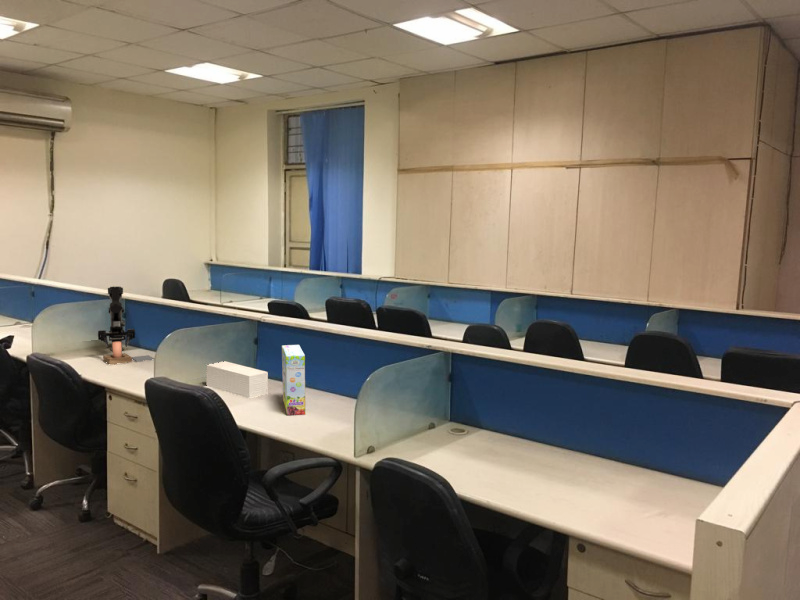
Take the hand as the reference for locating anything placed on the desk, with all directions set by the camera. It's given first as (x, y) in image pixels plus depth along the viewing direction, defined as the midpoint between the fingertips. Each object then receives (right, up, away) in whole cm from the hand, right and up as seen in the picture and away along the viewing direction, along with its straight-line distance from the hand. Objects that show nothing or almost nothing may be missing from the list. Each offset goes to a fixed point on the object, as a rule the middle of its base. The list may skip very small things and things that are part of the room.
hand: (117, 346), depth 347 cm
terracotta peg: (0, -8, +1) cm, 8 cm away
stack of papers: (+78, -17, -48) cm, 94 cm away
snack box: (+109, -21, -74) cm, 134 cm away
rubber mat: (+10, -8, +9) cm, 15 cm away
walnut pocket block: (0, -8, +1) cm, 8 cm away
